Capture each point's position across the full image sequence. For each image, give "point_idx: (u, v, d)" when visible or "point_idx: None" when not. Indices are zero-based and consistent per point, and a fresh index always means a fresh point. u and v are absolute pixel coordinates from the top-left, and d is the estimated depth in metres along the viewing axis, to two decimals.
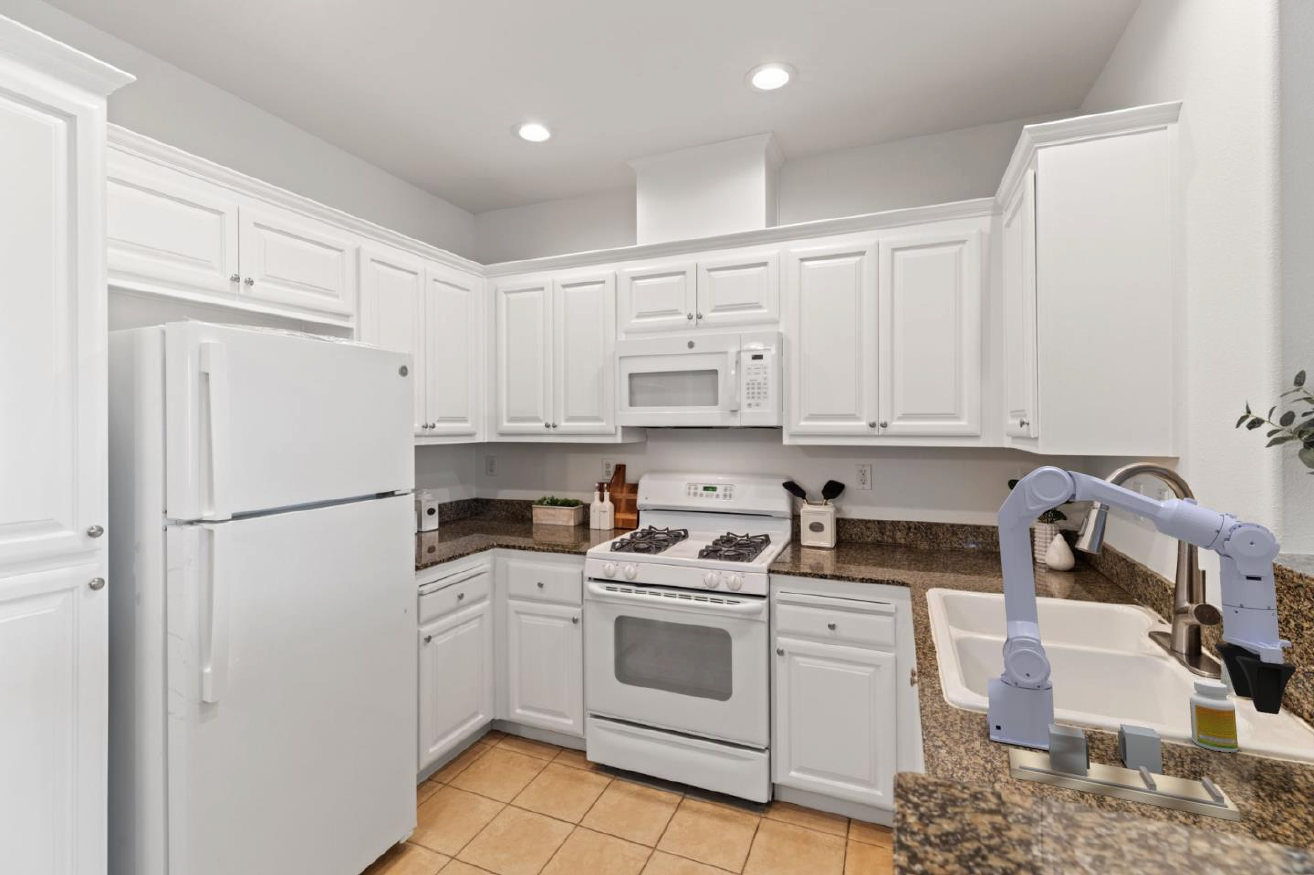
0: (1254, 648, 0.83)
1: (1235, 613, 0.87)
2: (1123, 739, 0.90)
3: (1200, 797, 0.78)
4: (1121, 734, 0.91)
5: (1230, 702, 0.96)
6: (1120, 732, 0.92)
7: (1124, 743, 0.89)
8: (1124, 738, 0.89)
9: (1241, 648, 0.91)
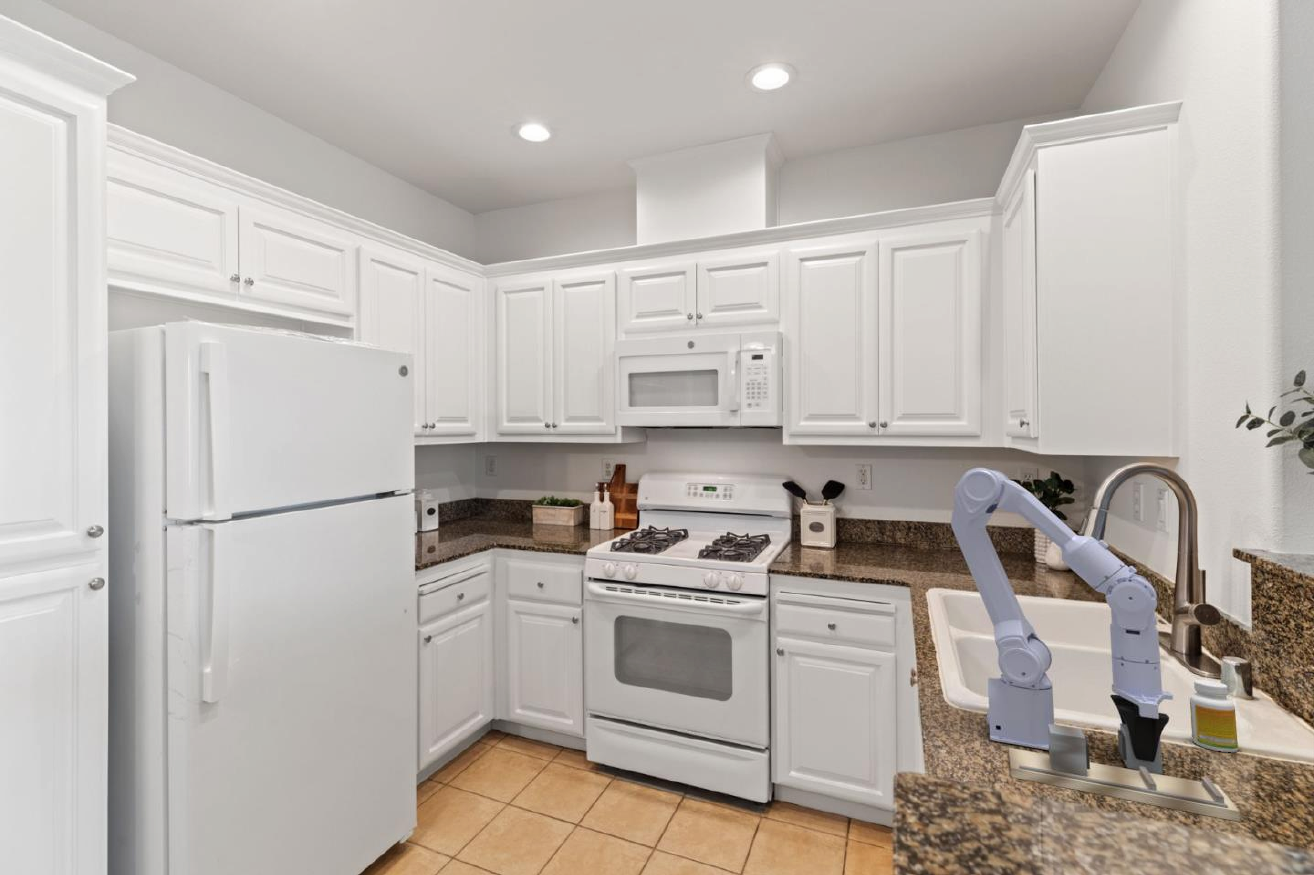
0: (1134, 702, 0.86)
1: (1121, 666, 0.90)
2: (1123, 738, 0.90)
3: (1200, 797, 0.78)
4: (1121, 734, 0.91)
5: (1230, 702, 0.96)
6: (1120, 732, 0.92)
7: (1124, 742, 0.89)
8: (1124, 737, 0.89)
9: None
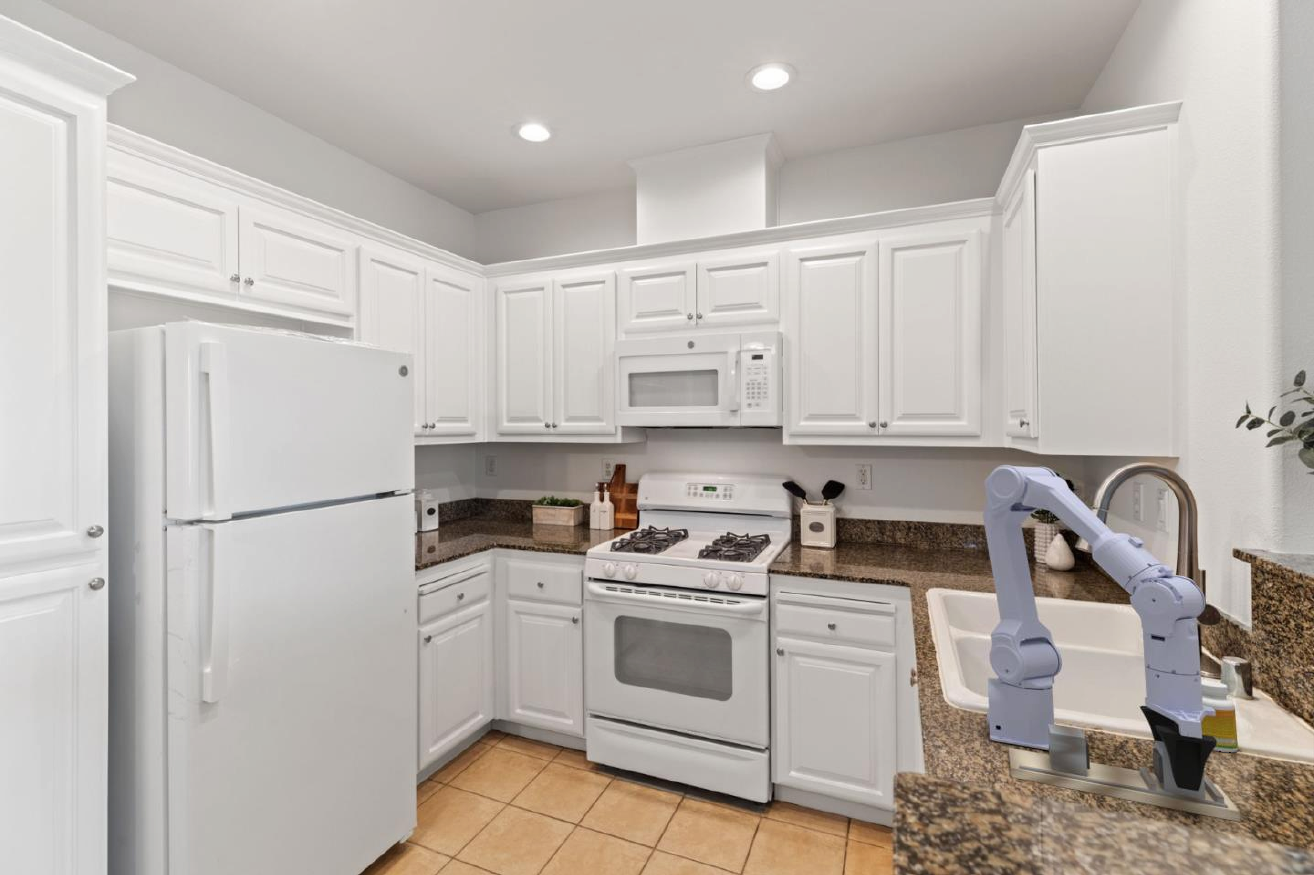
0: (1173, 718, 0.77)
1: (1157, 677, 0.80)
2: (1160, 758, 0.80)
3: None
4: (1157, 752, 0.81)
5: (1230, 702, 0.96)
6: (1155, 750, 0.82)
7: (1161, 763, 0.80)
8: (1161, 757, 0.80)
9: None
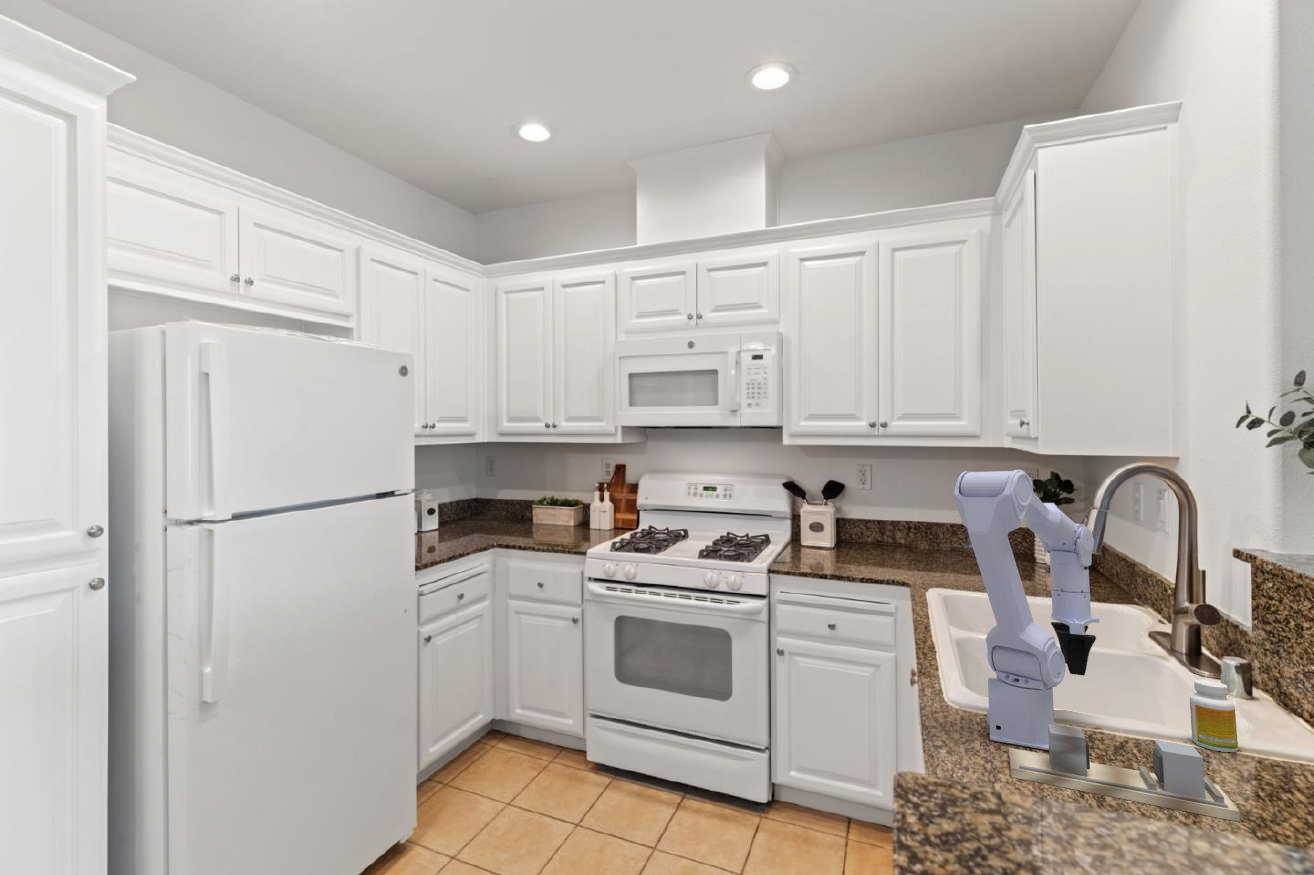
0: (1066, 623, 1.05)
1: (1058, 596, 1.09)
2: (1160, 758, 0.80)
3: None
4: (1157, 752, 0.81)
5: (1230, 702, 0.96)
6: (1155, 750, 0.82)
7: (1161, 763, 0.80)
8: (1161, 757, 0.80)
9: (1068, 625, 1.12)
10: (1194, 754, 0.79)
